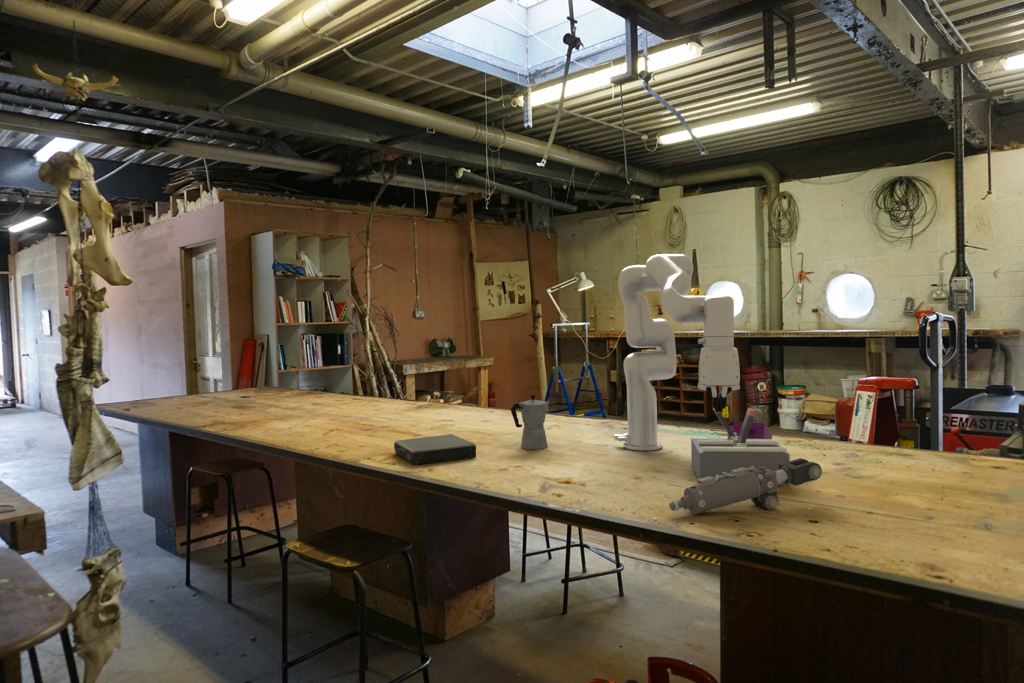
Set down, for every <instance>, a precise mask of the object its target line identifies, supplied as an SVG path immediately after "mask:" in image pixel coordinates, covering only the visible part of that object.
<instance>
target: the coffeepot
mask: <svg viewBox="0 0 1024 683" xmlns="http://www.w3.org/2000/svg"><path fill="white" fill-rule="evenodd" d="M549 404H550V402H549V401H545V400H544V401H543V400H538V399H536V394H534V393H533V394H530V399H528V400H525V401H522V402H517V403H514V404H513V405H512V406H511V408H510V413H511V415H512V418H513V420H514V424H515V427H516V428H522V427H523V429H522V435H521V442H520V447H521V448H522V449H523V448H524V450H529V449H532V450H531V451H534V449H538V450H544V449H546V448H548V441H547V436H546V430H545V427H544V423H545V422H546V415H547V407H548V406H549ZM517 409H519V410H520V413H521V419H522V423H523V424H522V423H521V424H520V423H519V418H518V413H517Z"/></svg>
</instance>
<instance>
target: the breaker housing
mask: <svg viewBox="0 0 1024 683" xmlns="http://www.w3.org/2000/svg"><path fill="white" fill-rule="evenodd" d="M711 408H712V407H711ZM712 411H713V412H714V413H715V415H716V417H717V419H718V420H719V422H720V423H721V425H722V426H723V428H724V430H725V431H726V433H727V438H702V437H700V438H699V437H698V438H694V437H693V438H690V441H691V442H690V443H691V444H690V445H691V447H690V448H691V450H690V452H691V468H692V469H693V471H694V472H693V473H694V474H695V476H696V478H697V480H698V479H701V478H705V477H709V476H710V477H716V475H717V474H718V476H720V475H723V474H722V473H723V472H725V473H731V470H735V469H739V468H742V467H743V468H750V467H751V466H754V467H755V468H754V469H758V468H762V467H765V468H766V469H770V470H771V471H778V469H779V465H778V464H780V463H783V462H789V461H791V459H790V452H788V448H787V447H782V446H781V445H780V444H779V441H778V440H775V439H773V438H772V439H746V442H745V443H737V445H736V442H737V439H738V436H737V433H733V429H732V428H731V426H730V425H729V423H728V422H727V420H726V418H725V417H724V415H723V414H722V412H715V409H713V408H712ZM750 471H751V470H750ZM728 477H729V476H728ZM721 479H722V478H721ZM777 486H790V483H788V484H784V483H780V484H778V485H777Z"/></svg>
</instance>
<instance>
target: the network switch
mask: <svg viewBox="0 0 1024 683" xmlns="http://www.w3.org/2000/svg"><path fill="white" fill-rule="evenodd" d="M393 449H394V452H395V455H396V456H397V455H398V456H400V457H401V458H403V459H404V460H406V461H407V462H408V463H409V464H410V465H413V466H422V465H428V464H436V463H442V462H450V461H451V462H453V461H459V459H461V460H467V459H466V458H469V459H474V458H473V457H475V458H477V445H476V444H475V443H474V442H471V441H470V440H467V439H464V438H462V437H460V436H458V435H454V434H452V433H450V434H449V433H448V434H442V435H432V436H431V435H430V436H425V437H424V436H423V437H416V438H409V439H408V438H407V439H398V440H396V441H394V442H393ZM452 460H453V461H452Z"/></svg>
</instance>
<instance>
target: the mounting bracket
mask: <svg viewBox="0 0 1024 683" xmlns="http://www.w3.org/2000/svg"><path fill="white" fill-rule="evenodd" d="M732 422H733V424H732V431H733V433H737V436H739V433H740V430H741V427H742V424H743V421H732ZM747 439H772V440H773V434H772V433H771V431H770V430H769V428H768V426H767V425H766V423H762V422H752V424H751V427H750V430H749V433H748V436H747Z"/></svg>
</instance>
